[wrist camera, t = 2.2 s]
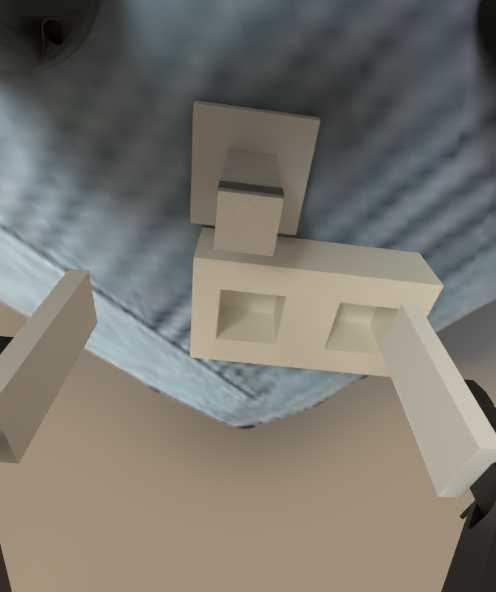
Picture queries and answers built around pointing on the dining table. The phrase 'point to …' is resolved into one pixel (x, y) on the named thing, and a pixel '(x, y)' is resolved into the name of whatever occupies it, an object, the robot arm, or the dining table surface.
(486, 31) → the coffee jar
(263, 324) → the port box
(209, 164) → the beige flat square plate
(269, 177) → the plug
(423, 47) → the dining table surface
